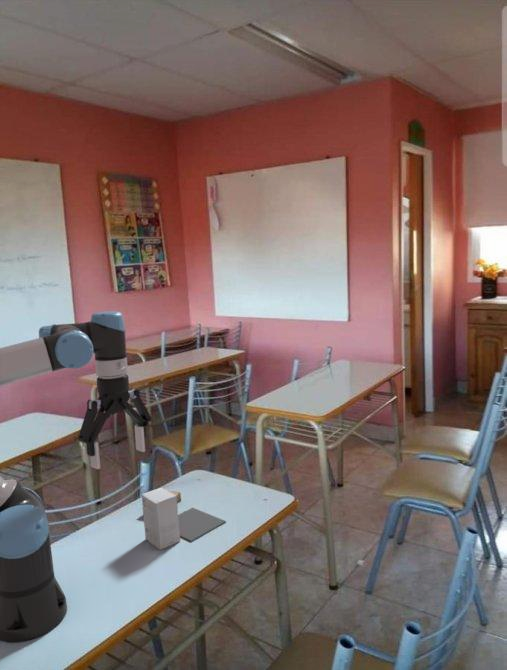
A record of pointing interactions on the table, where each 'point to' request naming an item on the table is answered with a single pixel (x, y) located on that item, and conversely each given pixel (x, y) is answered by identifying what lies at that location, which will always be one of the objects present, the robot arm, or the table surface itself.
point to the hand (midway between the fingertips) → (119, 459)
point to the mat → (197, 524)
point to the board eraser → (176, 496)
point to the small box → (161, 518)
